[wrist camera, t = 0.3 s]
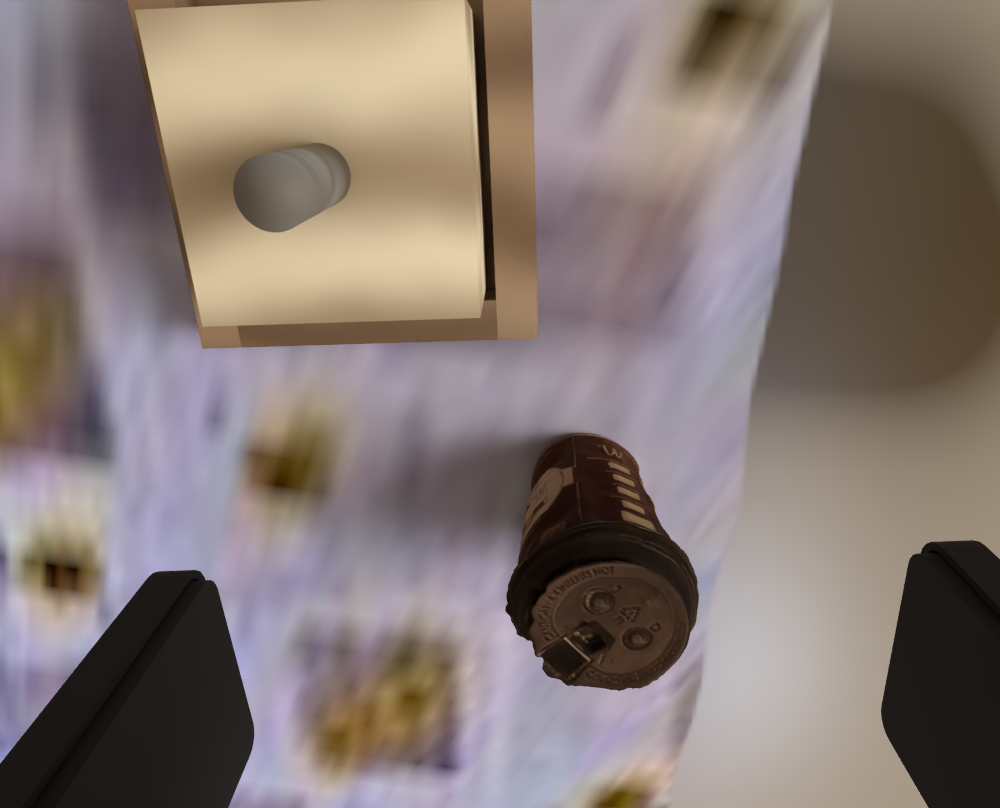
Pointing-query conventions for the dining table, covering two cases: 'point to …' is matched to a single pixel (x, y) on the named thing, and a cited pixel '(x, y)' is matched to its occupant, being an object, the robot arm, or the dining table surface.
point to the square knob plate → (323, 157)
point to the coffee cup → (599, 571)
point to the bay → (505, 191)
